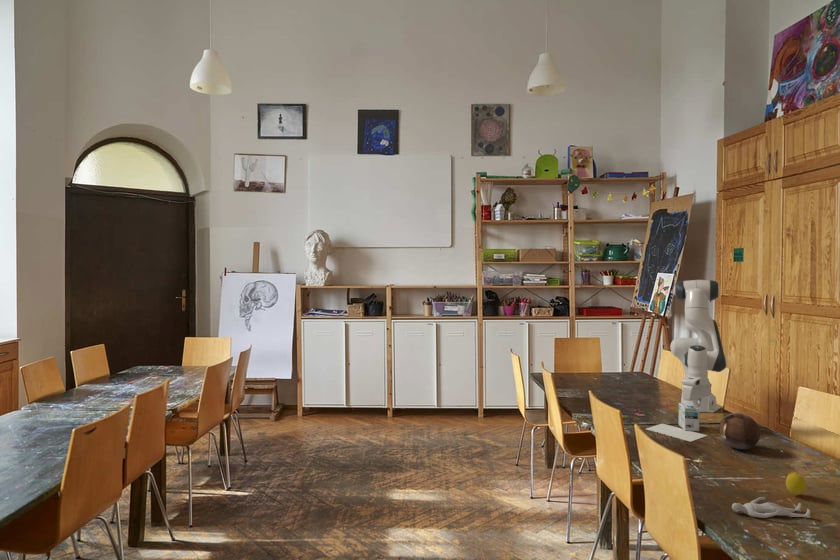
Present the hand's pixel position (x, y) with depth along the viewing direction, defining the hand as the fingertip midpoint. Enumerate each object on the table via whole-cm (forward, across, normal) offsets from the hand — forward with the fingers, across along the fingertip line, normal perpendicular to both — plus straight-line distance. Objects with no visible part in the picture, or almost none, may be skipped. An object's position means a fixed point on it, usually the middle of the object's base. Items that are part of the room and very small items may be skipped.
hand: (697, 407), depth 252 cm
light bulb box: (+9, +8, 0) cm, 12 cm away
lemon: (+10, +50, +60) cm, 78 cm away
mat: (+9, +19, 0) cm, 21 cm away
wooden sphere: (+10, +17, +27) cm, 33 cm away
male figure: (+10, +72, +60) cm, 94 cm away
